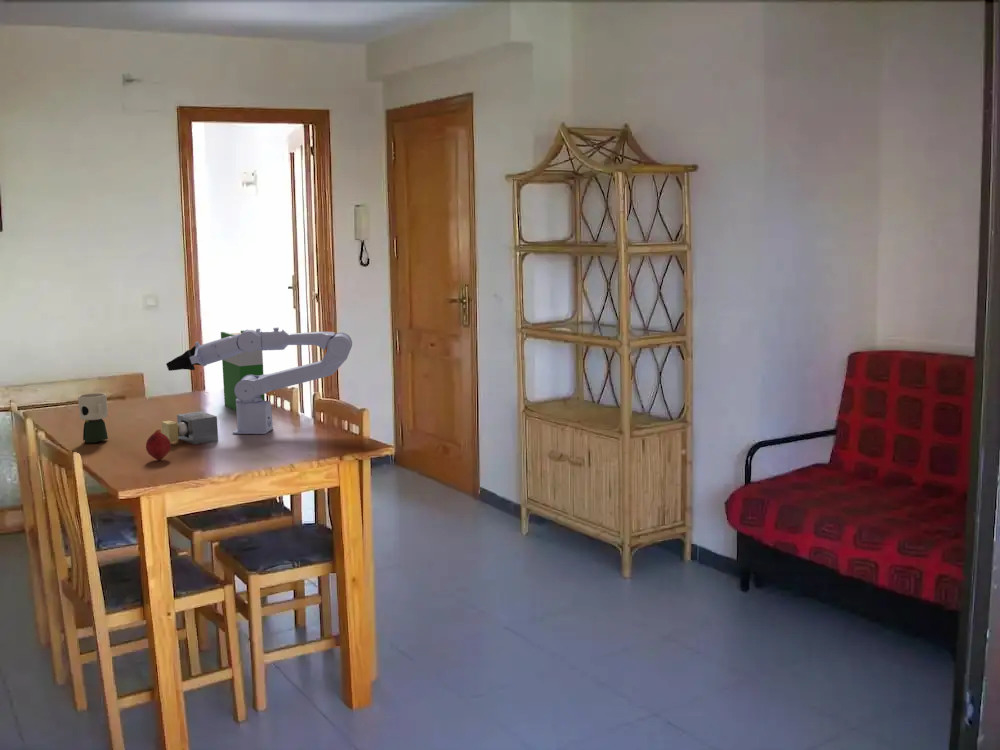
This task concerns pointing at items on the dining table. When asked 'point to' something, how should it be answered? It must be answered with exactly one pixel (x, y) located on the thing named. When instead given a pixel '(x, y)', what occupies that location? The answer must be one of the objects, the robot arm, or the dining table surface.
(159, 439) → the onion
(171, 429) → the end cover
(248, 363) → the hardback book
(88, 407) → the character mug
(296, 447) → the dining table surface
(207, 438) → the housing
